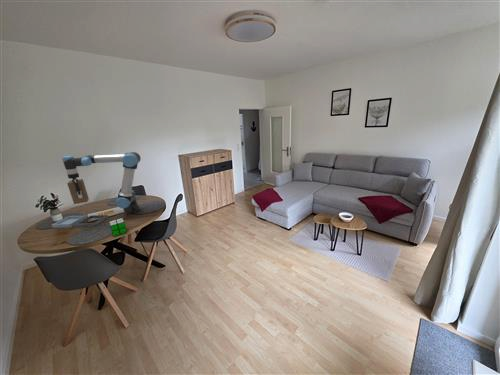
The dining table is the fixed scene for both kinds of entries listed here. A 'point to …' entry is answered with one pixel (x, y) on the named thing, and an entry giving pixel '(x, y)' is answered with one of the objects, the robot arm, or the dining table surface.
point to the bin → (68, 222)
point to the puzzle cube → (118, 227)
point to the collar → (92, 223)
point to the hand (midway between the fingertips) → (80, 196)
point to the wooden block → (74, 193)
